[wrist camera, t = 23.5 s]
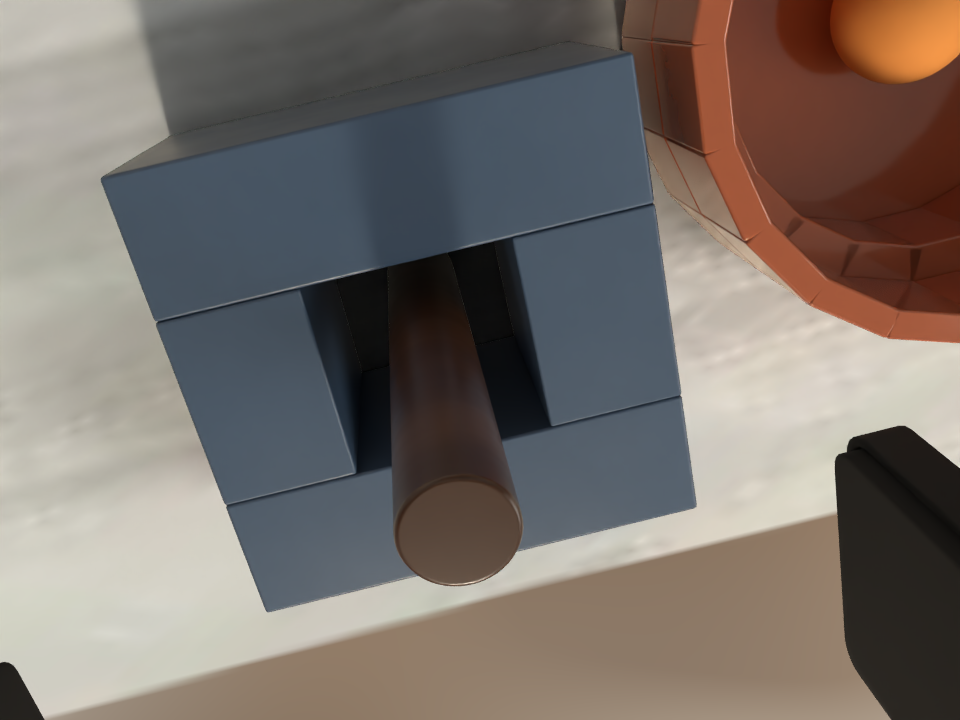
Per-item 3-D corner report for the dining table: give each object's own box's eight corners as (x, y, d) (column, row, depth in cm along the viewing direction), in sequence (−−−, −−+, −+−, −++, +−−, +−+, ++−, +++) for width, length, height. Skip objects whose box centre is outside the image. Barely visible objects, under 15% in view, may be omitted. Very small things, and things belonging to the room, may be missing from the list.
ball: (842, 61, 19) (881, -93, 19) (798, 78, 23) (830, -54, 22) (984, 88, 19) (1029, -66, 19) (921, 101, 23) (957, -31, 22)
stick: (382, 245, 24) (383, 488, 12) (448, 235, 24) (516, 467, 12) (393, 308, 24) (404, 598, 12) (457, 298, 24) (530, 577, 12)
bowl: (576, -221, 20) (650, -307, 15) (1138, -350, 20) (1421, -485, 15) (655, 317, 25) (732, 403, 20) (1104, 208, 26) (1304, 265, 20)
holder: (168, 135, 22) (98, 178, 17) (571, 40, 22) (633, 50, 17) (290, 485, 26) (266, 614, 21) (631, 403, 26) (698, 508, 21)
